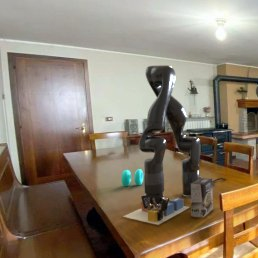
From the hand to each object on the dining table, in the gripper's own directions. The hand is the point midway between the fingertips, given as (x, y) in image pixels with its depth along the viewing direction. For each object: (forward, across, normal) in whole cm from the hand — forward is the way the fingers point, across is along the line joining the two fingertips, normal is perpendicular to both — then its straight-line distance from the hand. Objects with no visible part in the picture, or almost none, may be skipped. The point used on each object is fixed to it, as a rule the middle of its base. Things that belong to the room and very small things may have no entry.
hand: (155, 218), depth 109 cm
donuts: (+1, +51, -30) cm, 59 cm away
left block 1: (0, +11, -6) cm, 13 cm away
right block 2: (0, 0, -12) cm, 12 cm away
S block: (0, 0, 0) cm, 0 cm away
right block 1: (0, 0, -6) cm, 6 cm away
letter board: (+1, +6, -6) cm, 8 cm away
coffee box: (+1, -15, -13) cm, 20 cm away
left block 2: (0, +11, -12) cm, 16 cm away
